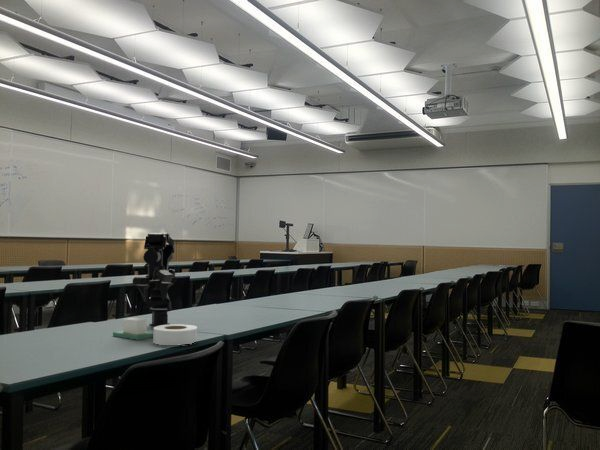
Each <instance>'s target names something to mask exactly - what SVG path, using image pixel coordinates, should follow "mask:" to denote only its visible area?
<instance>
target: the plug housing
mask: <svg viewBox="0 0 600 450" xmlns="http://www.w3.org/2000/svg"><path fill="white" fill-rule="evenodd" d="M122 323H123V324H122V326H123V327H122V331H123V332H127V333H133V334H140V333H146V331H147V319H146V318H139V317H138V318H137V317H129V318H123V321H122Z"/></svg>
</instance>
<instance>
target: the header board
mask: <svg viewBox="0 0 600 450" xmlns="http://www.w3.org/2000/svg"><path fill="white" fill-rule="evenodd" d="M153 332H154V331H149V330H146V333H140V334H133V333H127V332H123V330H119V331H113V332H112V336H113V337H117V338H121V337H122V338H123V339H127V338H129V339H128V340H133V339H136V340H135V341H139V340H138V339H141V340H144V339H143V338H146V339H150V338H149V337H152V338H153Z"/></svg>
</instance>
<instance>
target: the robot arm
mask: <svg viewBox="0 0 600 450" xmlns="http://www.w3.org/2000/svg"><path fill="white" fill-rule="evenodd" d="M143 249H144V250H146V251H145V252H144V254H143V256H142V257H143V260H144V262H145V263H146V264H147V265H145V268H146V269H147V274H146V275H145V276H135V277H133V278H132V285H134V286H135V287H136V288H137V289H138V291H139V294H141V297H142V299H143V301H144V303H147V302H148V312H151V323H149V324H148V325H149V326H152V327H156V326H159V325H168V324H170V323H169V322H168V321H169V320H168V318H169V317H168V316H169V315H168V312H171V311H172V302H171V299H170V297H169V294H168V290H169V289H170V287H172V285H174V283H177V277H176V270H175V269H172V268H170V269H169V264H170V261H172V259H174V254H176V244H175V240H174V239H172V238H171V237H170V233H169V232H148V233H147V234H146V235H145V240H144V246H143ZM150 283H155V288H152V289H151V290H150V291H151V292H150V297H149V298H148V296H149V295H148V292H149V288H150V287H151V285H150Z"/></svg>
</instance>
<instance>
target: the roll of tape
mask: <svg viewBox="0 0 600 450" xmlns="http://www.w3.org/2000/svg"><path fill="white" fill-rule="evenodd" d="M152 332H153V337H152V338H153V339H152V340H153V341H152V342H153V344H154V343H155V344H154V345H156V344H159V345H158V346H161V345H178V344H190V345H193V344H192V343H194V342H196V341H197V342H198V327H197V325H193V324H183V323H169V324H168V325H159V326H153V331H152ZM197 342H196V343H197ZM194 344H195V343H194Z"/></svg>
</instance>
